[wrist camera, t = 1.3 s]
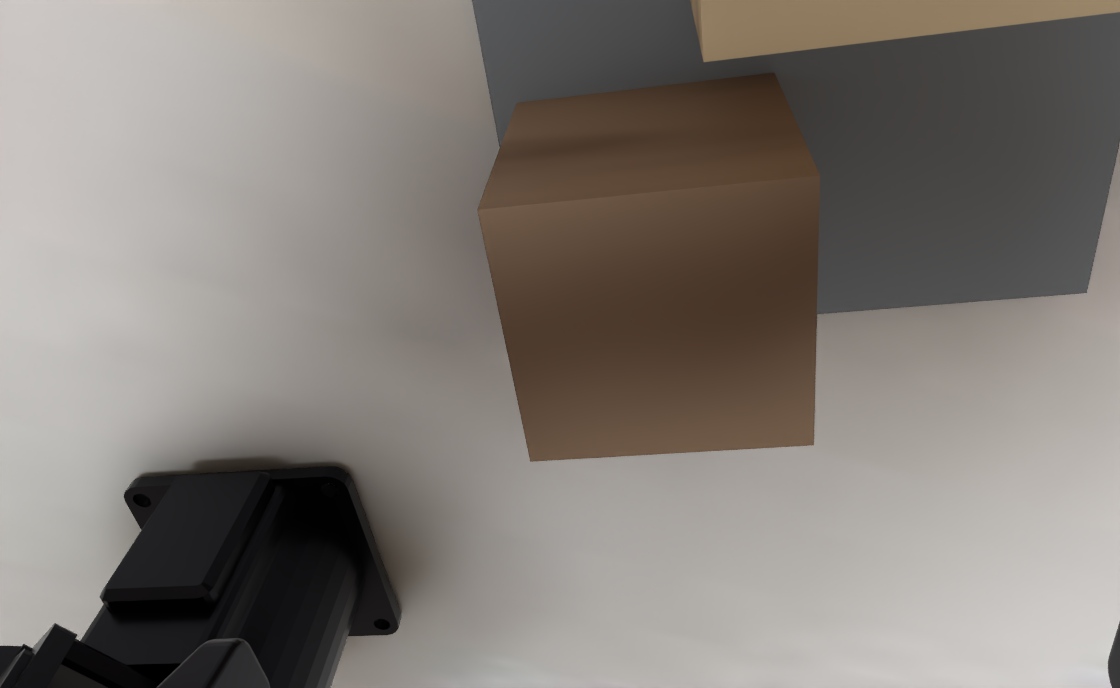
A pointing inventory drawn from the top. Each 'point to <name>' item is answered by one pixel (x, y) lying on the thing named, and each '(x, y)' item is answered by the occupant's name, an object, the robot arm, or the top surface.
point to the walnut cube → (657, 269)
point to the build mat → (882, 137)
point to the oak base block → (860, 21)
